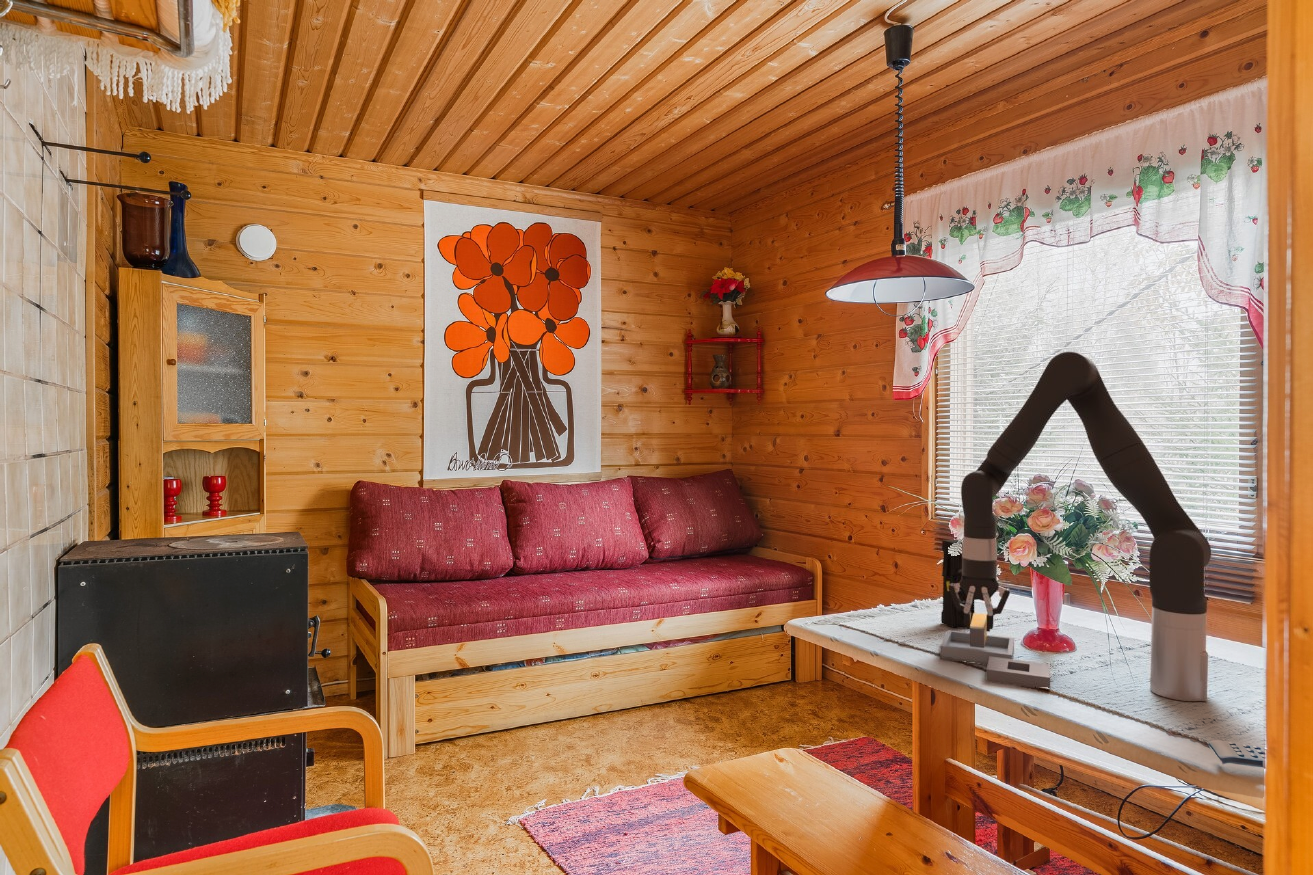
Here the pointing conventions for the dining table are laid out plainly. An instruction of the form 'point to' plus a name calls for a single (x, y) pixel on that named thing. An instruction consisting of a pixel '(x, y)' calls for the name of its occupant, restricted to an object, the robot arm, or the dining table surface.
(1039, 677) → the socket plate
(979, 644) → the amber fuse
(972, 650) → the grey tray
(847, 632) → the dining table surface
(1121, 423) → the robot arm
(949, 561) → the portable radio
